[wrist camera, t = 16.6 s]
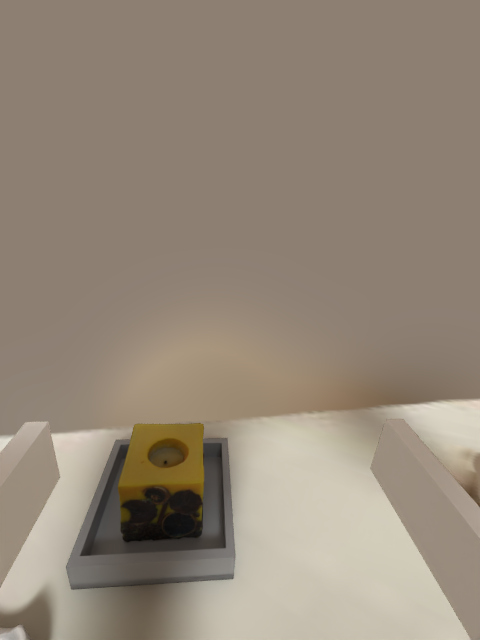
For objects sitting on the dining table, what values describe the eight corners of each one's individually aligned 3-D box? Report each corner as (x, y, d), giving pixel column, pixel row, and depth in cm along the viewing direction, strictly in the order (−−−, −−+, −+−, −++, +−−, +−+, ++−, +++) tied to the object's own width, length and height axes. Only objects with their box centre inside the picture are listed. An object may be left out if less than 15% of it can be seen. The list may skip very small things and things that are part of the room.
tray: (226, 456, 52) (227, 438, 50) (233, 578, 35) (235, 557, 33) (118, 458, 50) (115, 439, 48) (71, 589, 33) (65, 567, 32)
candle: (137, 474, 46) (132, 422, 42) (203, 471, 47) (204, 420, 44) (120, 545, 37) (112, 486, 33) (203, 538, 38) (204, 482, 34)
